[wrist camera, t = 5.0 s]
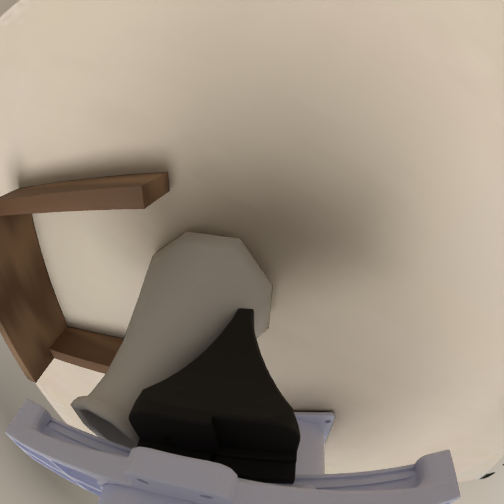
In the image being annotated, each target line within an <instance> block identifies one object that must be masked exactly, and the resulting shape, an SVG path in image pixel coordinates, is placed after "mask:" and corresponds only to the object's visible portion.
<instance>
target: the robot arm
mask: <svg viewBox="0 0 504 504" xmlns="http://www.w3.org/2000/svg"><path fill="white" fill-rule="evenodd" d="M128 419H129V421H130V424H131V426H132V427H133V429H134V430H135V432H136V433H137V435H138V437H139V438H140V439H139V442H138V444H137V447H136V448H133V449H132V448H128V447H125V446H122V445H119V444H116V443H113V442H110V441H108V440H105V439H102V438H99V437H97V436H94V435H92V434H89V433H87V432H84V431H82V430H79V429H77V428H75V427H72V426H70V425H68V424H66V423H63V422H61V421H59V420H57V419H55V418H52V417H51V415H50V413H49V412H48V411H47V410H46V409H45V408H44V407H43V406H41V405H39V404H37V403H35V402H33V401H31V400H30V399H26V401H25V402H24V404H23V405H22V407H21V408H20V410H19V411H18V413H17V414H16V416H15V417H14V419H13V420H12V422H11V424H10V425H9V427H8V428H7V430H6V431H5V432H6V434H7V435H8V436H9V437H10V438H11V439H12V440H13V441H14V442H15V443H16V444H17V445H18V446H19V447H20V448H21V449H22V450H23V451H24V452H25V453H26V454H27V455H29V456H30V457H31V458H32V459H34V460H35V461H37V462H38V463H40V464H42V465H43V466H45V467H47V468H48V469H50V470H51V471H53V472H55V473H57V474H58V475H60V476H62V477H64V478H65V479H67V480H69V481H71V482H72V483H74V484H76V485H78V486H80V487H82V488H84V489H86V490H88V491H89V492H91V493H94V494H95V495H98V496H100V498H99V500H98V503H97V504H451V503H453V502H454V501H456V500H457V499H459V498H460V492H459V487H458V482H457V478H456V473H455V469H454V465H453V461H452V457H451V453H450V450H444V451H440V452H436V453H431V454H428V455H425V456H423V457H421V458H420V459H418V460H417V462H416V463H415V464H412V465H407V466H401V467H395V468H389V469H382V470H374V471H366V472H355V473H342V474H325V465H324V444H325V442H326V439H327V437H328V434H329V432H330V429H331V427H332V424H333V422H334V419H335V414H334V413H332V412H294V411H293V408H292V407H291V406H290V405H289V403H288V402H287V401H286V400H285V398H284V397H283V395H282V394H281V392H280V391H279V389H278V388H277V386H276V384H275V383H274V381H273V379H272V378H271V376H270V374H269V372H268V370H267V368H266V365H265V363H264V361H263V358H262V356H261V353H260V350H259V347H258V343H257V339H256V335H255V330H254V310H253V309H247V308H239V309H238V310H237V312H236V314H235V315H234V317H233V318H232V320H231V321H230V322H229V324H228V325H227V326H226V328H225V329H224V330H223V331H222V333H221V334H220V335H219V336H218V337H217V338H216V340H215V341H214V342H213V343H212V344H211V345H210V346H209V347H208V348H207V349H206V350H205V351H204V352H203V353H202V354H201V355H199V356H198V357H197V358H196V359H195V360H193V361H192V362H191V363H189V364H188V365H187V366H186V367H184V368H183V369H181V370H180V371H178V372H177V373H175V374H173V375H172V376H170V377H168V378H167V379H165V380H163V381H161V382H159V383H156V384H154V385H152V386H150V387H148V388H145V389H143V390H142V392H141V393H140V395H139V396H138V398H137V399H136V401H135V403H134V405H133V407H132V409H131V412H130V414H129V418H128Z"/></svg>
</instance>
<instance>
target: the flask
mask: <svg viewBox="0 0 504 504" xmlns="http://www.w3.org/2000/svg"><path fill="white" fill-rule="evenodd" d="M271 295H272V284H271V283H270V281H269V280H268V278H267V277H266V275H265V274H264V272H263V271H262V270H261V268H260V267H259V265H258V264H257V262H256V261H255V259H254V258H253V256H252V255H251V254H250V252H249V251H248V249H247V248H246V246H245V245H244V243H243V242H242V241H241V239H239V238H232V237H225V236H217V235H210V234H203V233H195V232H188V231H187V232H185V233H184V234H182V235H181V236H180V237H178V238H177V239H175V240H174V241H172V242H171V243H169V244H168V245H167V246H165V247H164V248H162V249H161V250H160V251H158V252H157V253H155V254H154V255H153V257H152V260H151V262H150V265H149V268H148V271H147V273H146V276H145V279H144V283H143V286H142V289H141V292H140V295H139V298H138V301H137V303H136V306H135V309H134V312H133V315H132V317H131V320H130V323H129V326H128V329H127V332H126V335H125V338H124V341H123V343H122V345H121V347H120V348H119V350H118V352H117V354H116V356H115V358H114V360H113V361H112V363H111V365H110V367H109V369H108V371H107V373H106V374H105V376H104V377H103V378H102V379H101V381H100V382H99V383H98V385H97V386H96V387H95V388H94V390H93V391H92V392H91V393H90V394H89V395H88V396H81V397H78V398H76V399H75V400H73V402H72V403H71V406H72V408H73V409H74V411H75V412H76V414H77V415H78V416H79V418H80V419H81V421H82V422H83V423H84V424H85V425H86V426H87V427H88V428H89V429H90V430H91V431H92V432H94V433H95V434H96V435H97V436H98V437H99V438H102V439H105V440H108V441H110V442H113V443H116V444H119V445H122V446H125V447H128V448H132V449H133V448H136V447H137V444H138V442H139V439H140V438H139V437H138V435H137V433H136V432H135V430H134V429H133V427H132V426H131V424H130V421H129V419H128V418H129V414H130V412H131V409H132V407H133V405H134V403H135V401H136V399H137V398H138V396H139V395H140V393H141V392H142V390H143V389H145V388H148V387H150V386H152V385H154V384H156V383H159V382H161V381H163V380H165V379H167V378H168V377H170V376H172V375H173V374H175V373H177V372H178V371H180V370H181V369H183V368H184V367H186V366H187V365H188V364H189V363H191V362H192V361H193V360H195V359H196V358H197V357H198V356H199V355H201V354H202V353H203V352H204V351H205V350H206V349H207V348H208V347H209V346H210V345H211V344H212V343H213V342H214V341H215V340H216V338H217V337H218V336H219V335H220V334H221V333H222V331H223V330H224V329H225V328H226V326H227V325H228V324H229V322H230V321H231V320H232V318H233V317H234V315H235V314H236V312H237V310H238V309H239V308H247V309H253V310H254V330H255V335H256V338H258V337H259V336H260V335H261V334H262V333H264V332H265V331H266V330H267V329H268V328H269V320H270V307H271Z"/></svg>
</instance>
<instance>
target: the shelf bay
mask: <svg viewBox="0 0 504 504" xmlns="http://www.w3.org/2000/svg"><path fill="white" fill-rule="evenodd" d="M168 191H169V181H168V172H161V173H145V174H131V175H119V176H108V177H98V178H89V179H80V180H72V181H65V182H57V183H50V184H43V185H37V186H31V187H25V188H19V189H16V190H14V191H12V192H10V193H8V194H5V195H3V196H1V197H0V332H1V334H2V336H3V338H4V340H5V342H6V344H7V345H8V347H9V349H10V351H11V352H12V354H13V356H14V357H15V359H16V361H17V362H18V364H19V366H20V367H21V369H22V370H23V372H24V374H25V375H26V377H27V378H28V379H29V380H31V381H33V382H35V383H36V382H37V380H38V379H39V378H40V376H41V375H42V374H43V372H44V371H45V370H46V368H47V367H48V366H49V364H50V363H51V362H52V360H53V359H54V358H56V359H59V360H62V361H64V362H68V363H71V364H74V365H77V366H80V367H83V368H87V369H90V370H94V371H97V372H101V373H105V374H106V373H107V371H108V369H109V367H110V365H111V363H112V361H113V360H114V358H115V356H116V354H117V352H118V350H119V348H120V347H121V345H122V343H123V341H124V339H122V338H117V337H112V336H107V335H102V334H97V333H93V332H88V331H84V330H79V329H75V328H71V327H68V326H67V324H66V321H65V319H64V317H63V314H62V312H61V309H60V307H59V304H58V301H57V299H56V296H55V293H54V291H53V288H52V285H51V282H50V279H49V276H48V273H47V270H46V267H45V264H44V261H43V257H42V254H41V250H40V247H39V243H38V240H37V236H36V232H35V228H34V224H33V220H32V215H31V213H46V212H63V211H84V210H111V209H145V208H146V207H147V206H149V205H150V204H151V203H153V202H154V201H156V200H157V199H158V198H160V197H161V196H163V195H164V194H166V193H167V192H168Z"/></svg>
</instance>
